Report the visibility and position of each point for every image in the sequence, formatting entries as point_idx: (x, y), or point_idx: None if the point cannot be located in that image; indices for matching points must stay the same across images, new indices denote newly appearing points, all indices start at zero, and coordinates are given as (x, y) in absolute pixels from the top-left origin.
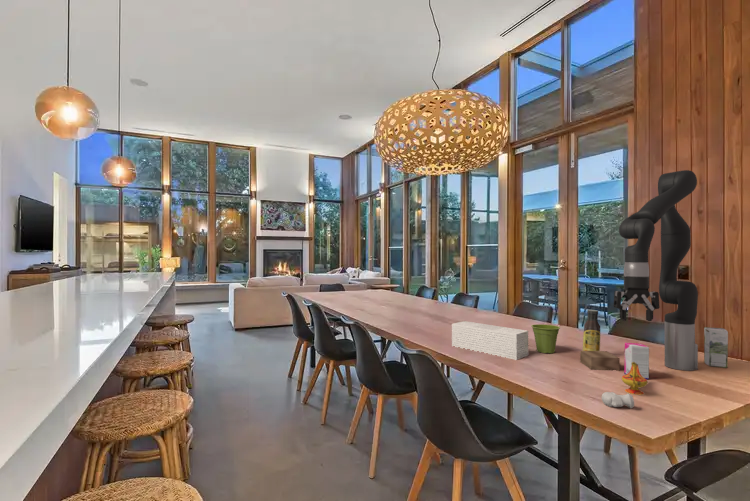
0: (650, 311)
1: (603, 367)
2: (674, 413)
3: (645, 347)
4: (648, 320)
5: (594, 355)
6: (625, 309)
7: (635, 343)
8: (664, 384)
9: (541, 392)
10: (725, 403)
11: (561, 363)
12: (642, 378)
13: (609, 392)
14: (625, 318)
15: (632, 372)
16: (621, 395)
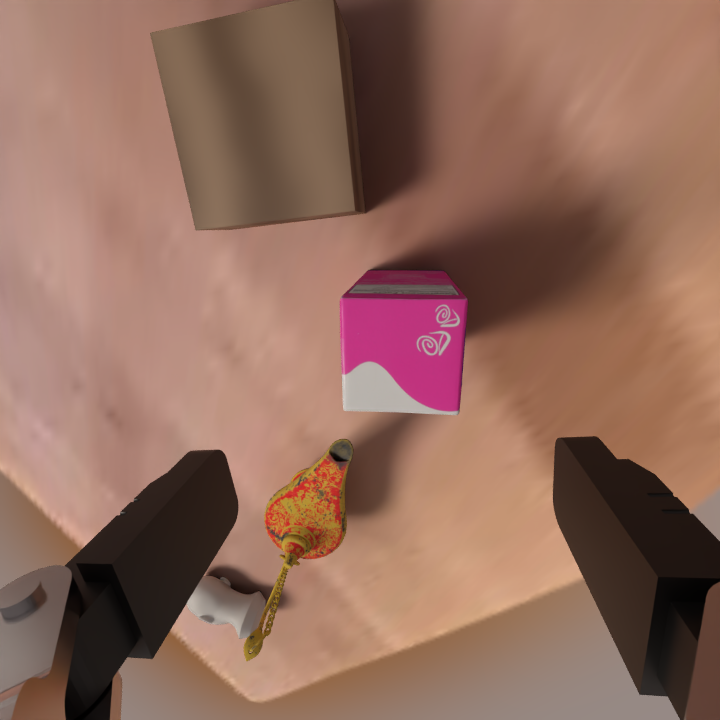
0: (646, 678)
1: (282, 222)
2: (356, 621)
3: (434, 412)
4: (556, 488)
5: (220, 175)
6: (120, 686)
7: (414, 310)
8: (474, 400)
9: (57, 517)
10: (564, 559)
11: (101, 131)
12: (325, 542)
13: (198, 612)
14: (214, 538)
15: (285, 555)
16: (227, 620)
